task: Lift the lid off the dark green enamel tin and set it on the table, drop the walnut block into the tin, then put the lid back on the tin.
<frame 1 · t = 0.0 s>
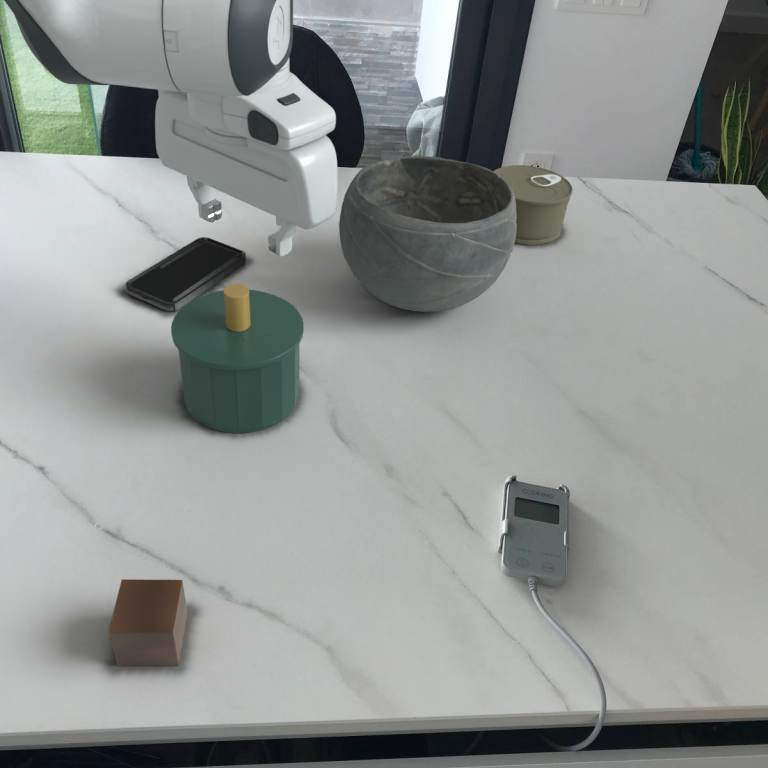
hand: (244, 234, 76), 16 cm above the table, tool pointing down, fingers open, 8 cm apart
phone: (188, 277, 98), on the table
bowl: (418, 295, 100), on the table
tin: (241, 394, 82), on the table
can: (521, 226, 116), on the table
tin lid: (238, 329, 76), point 8 cm above the table, touching tin
block: (153, 639, 60), on the table
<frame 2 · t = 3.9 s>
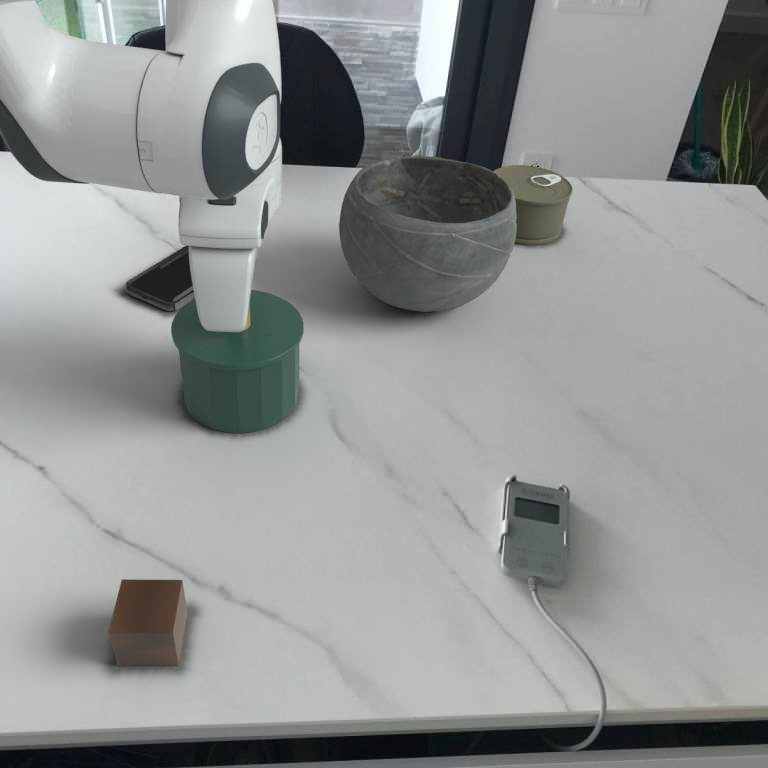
hand: (237, 313, 75), 10 cm above the table, tool pointing down, fingers closed on tin lid, 2 cm apart
tin lid: (238, 329, 76), point 9 cm above the table, touching gripper, tin
everything else where it was.
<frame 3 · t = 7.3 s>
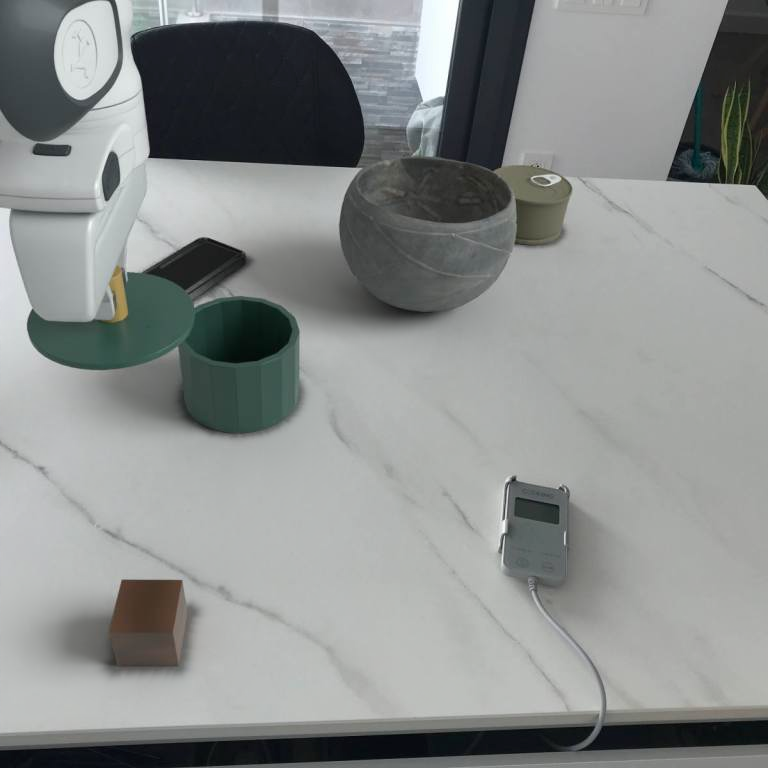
hand: (110, 301, 61), 19 cm above the table, tool pointing down, fingers closed on tin lid, 2 cm apart
tin lid: (113, 320, 62), point 17 cm above the table, touching gripper
everything else where it was.
when the fingers open (2 cm above the table, at t = 11.0 s): tin lid stays where it is, point 1 cm above the table.
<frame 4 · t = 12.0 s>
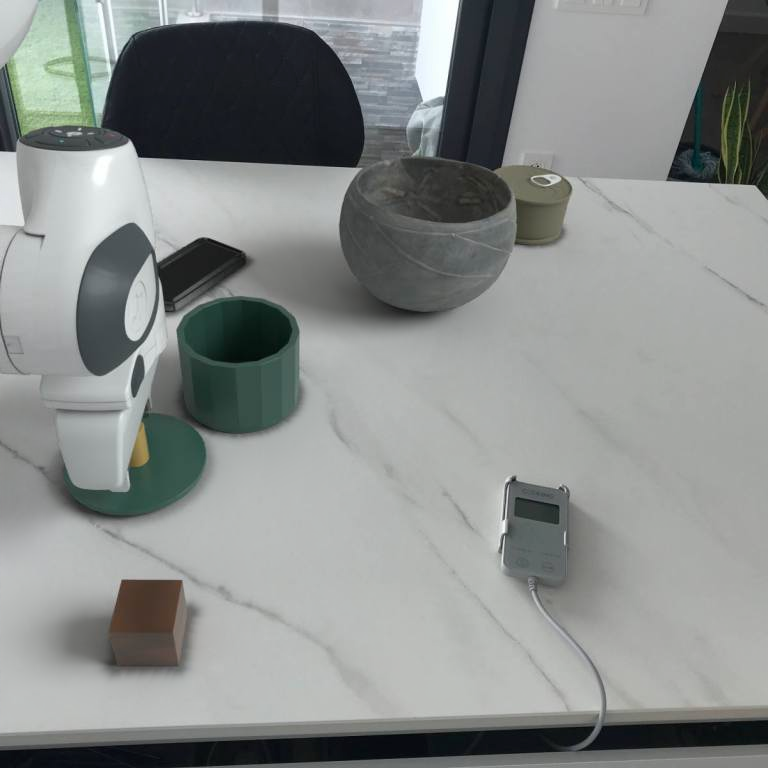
hand: (131, 447, 71), 3 cm above the table, tool pointing down, fingers open, 8 cm apart
tin lid: (136, 462, 73), point 1 cm above the table
everything else where it was.
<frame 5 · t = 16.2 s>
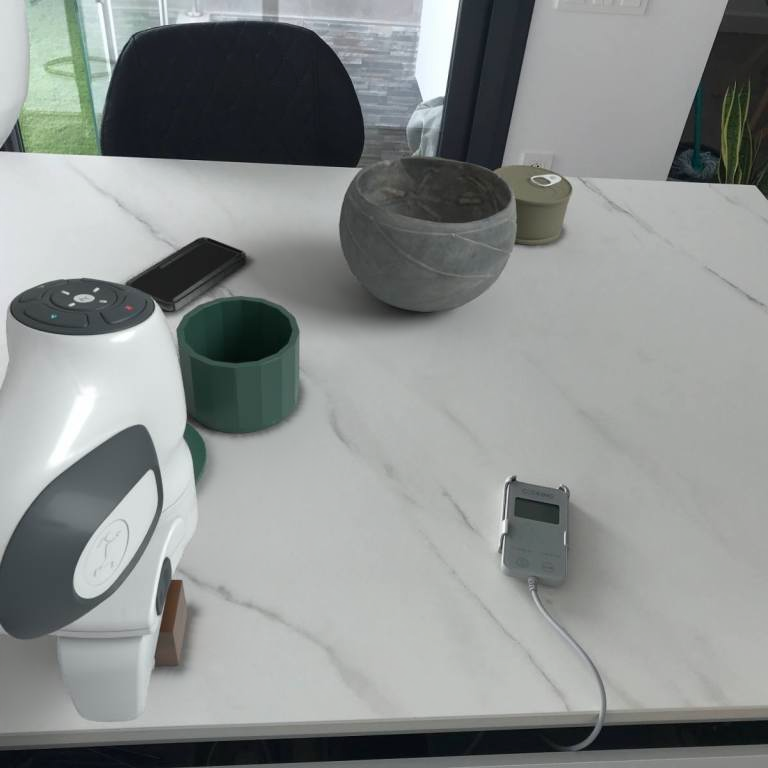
hand: (151, 626, 58), 2 cm above the table, tool pointing down, fingers closed on block, 4 cm apart
block: (153, 639, 60), on the table, touching gripper
everything else where it was.
when the fingers open (9 cm above the table, at t = 23.7 s): block drops 7 cm, resting on tin.
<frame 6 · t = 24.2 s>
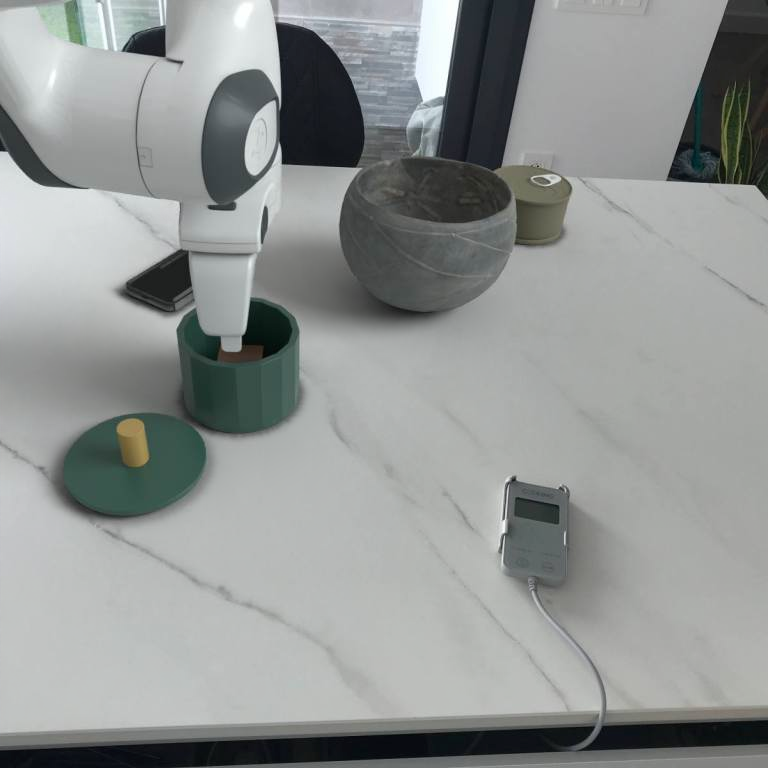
hand: (237, 318, 75), 10 cm above the table, tool pointing down, fingers open, 8 cm apart
block: (241, 391, 82), point 1 cm above the table, touching tin
everything else where it was.
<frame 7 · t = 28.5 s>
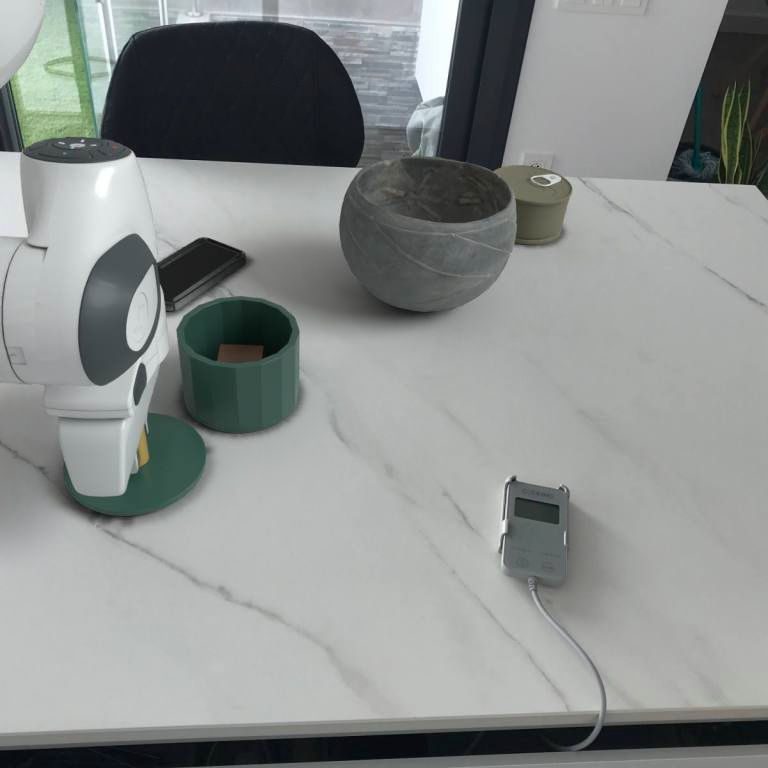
hand: (133, 453, 72), 2 cm above the table, tool pointing down, fingers closed on tin lid, 2 cm apart
tin lid: (136, 463, 72), point 1 cm above the table, touching gripper
everything else where it was.
when the fingers open (10 cm above the table, at t = 35.9 s): tin lid stays where it is, resting on tin.
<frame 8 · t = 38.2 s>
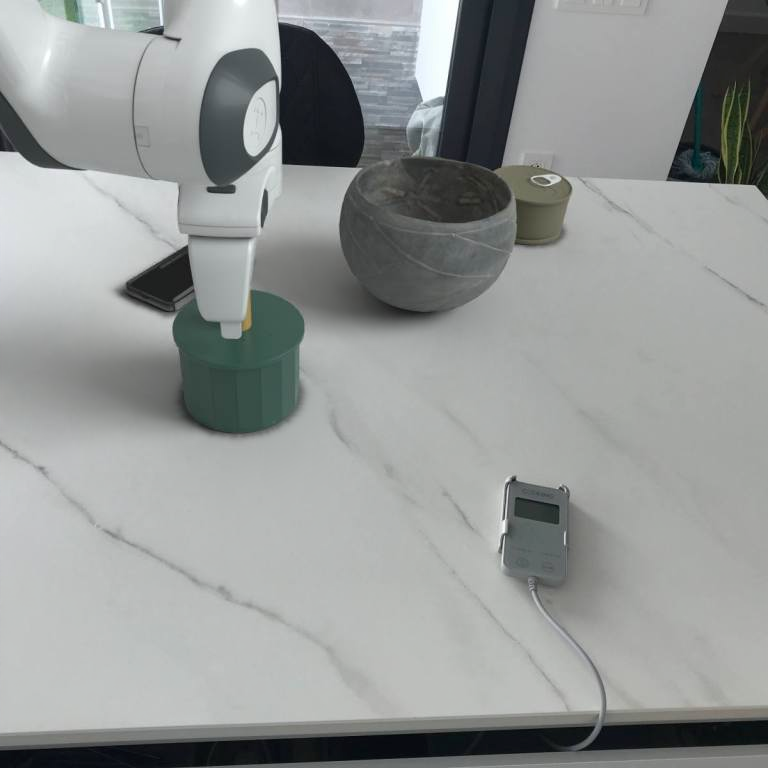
hand: (237, 305, 75), 11 cm above the table, tool pointing down, fingers open, 8 cm apart
tin lid: (239, 329, 76), point 8 cm above the table, touching tin
everything else where it was.
at the end: tin lid 0.1 cm off-centre on the tin, point 8.5 cm above the tin's base; tin lid tilted 0°; block inside the target area in the tin (0.1 cm from its centre), point 0.5 cm above the tin's base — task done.
